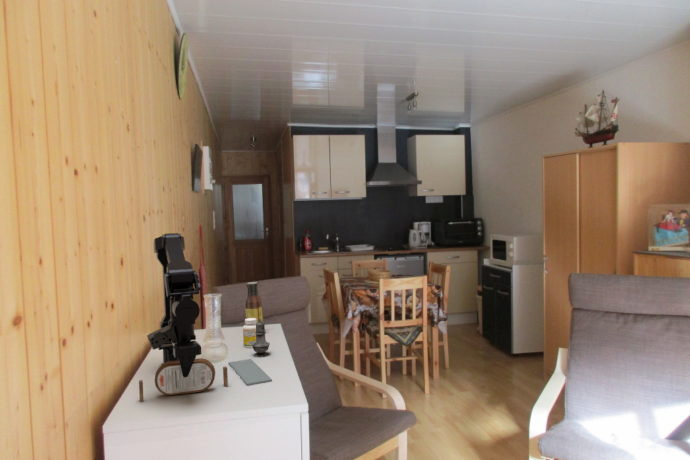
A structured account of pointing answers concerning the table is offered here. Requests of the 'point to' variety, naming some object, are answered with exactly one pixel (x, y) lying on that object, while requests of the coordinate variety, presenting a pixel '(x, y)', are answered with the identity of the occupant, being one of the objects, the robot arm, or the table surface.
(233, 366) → the mat
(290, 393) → the table surface
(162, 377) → the tin
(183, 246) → the robot arm
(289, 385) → the table surface
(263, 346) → the salt shaker
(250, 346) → the supplement bottle
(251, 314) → the sauce bottle
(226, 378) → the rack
